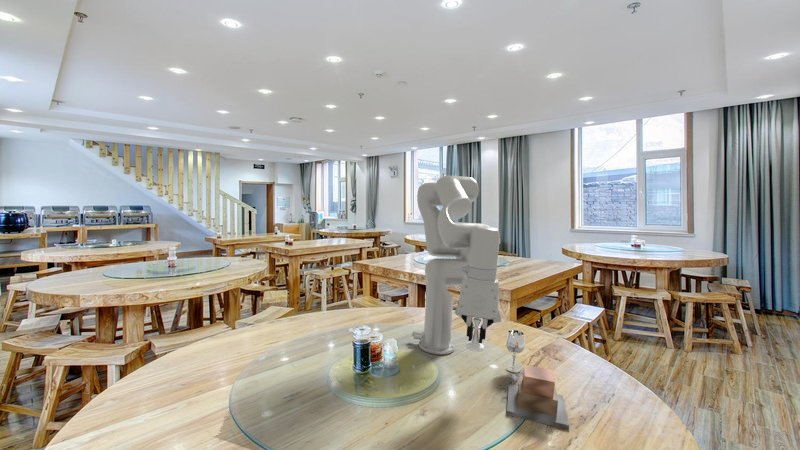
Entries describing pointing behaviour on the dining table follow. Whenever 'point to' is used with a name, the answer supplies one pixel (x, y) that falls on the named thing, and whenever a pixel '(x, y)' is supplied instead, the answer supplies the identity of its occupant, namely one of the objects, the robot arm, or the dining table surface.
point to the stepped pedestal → (537, 398)
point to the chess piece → (475, 338)
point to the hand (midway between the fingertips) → (475, 339)
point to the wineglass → (515, 343)
